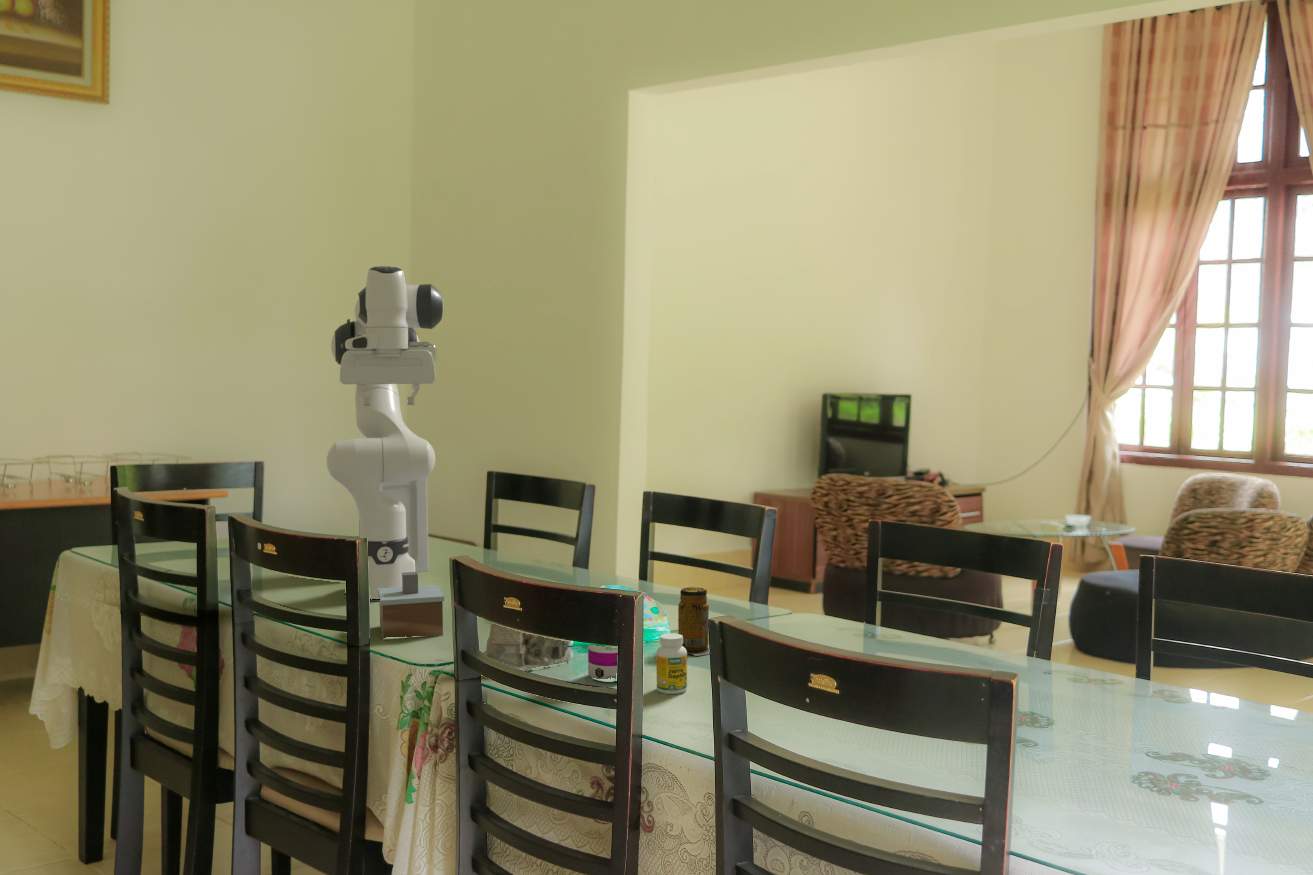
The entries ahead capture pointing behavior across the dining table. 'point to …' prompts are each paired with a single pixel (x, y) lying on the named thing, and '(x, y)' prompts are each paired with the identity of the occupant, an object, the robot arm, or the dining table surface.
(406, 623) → the box
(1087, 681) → the dining table surface
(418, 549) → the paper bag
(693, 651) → the condiment
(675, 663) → the supplement bottle
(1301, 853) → the dining table surface
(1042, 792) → the dining table surface
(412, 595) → the lid
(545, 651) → the ceramic cottage
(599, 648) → the supplement can
